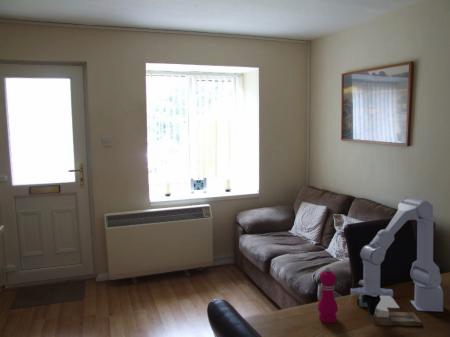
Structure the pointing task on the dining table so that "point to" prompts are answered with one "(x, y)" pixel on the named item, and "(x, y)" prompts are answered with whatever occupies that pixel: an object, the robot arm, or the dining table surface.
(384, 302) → the parts mat
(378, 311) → the switch tab
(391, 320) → the switch board
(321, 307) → the pepper mill
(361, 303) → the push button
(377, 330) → the dining table surface
